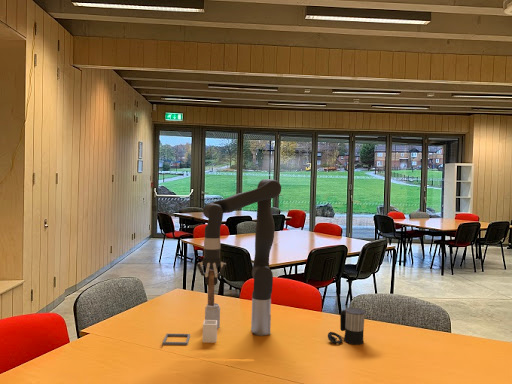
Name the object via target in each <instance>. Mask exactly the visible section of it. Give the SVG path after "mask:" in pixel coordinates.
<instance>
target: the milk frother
mask: <svg viewBox="0 0 512 384" xmlns="http://www.w3.org/2000/svg"><path fill="white" fill-rule="evenodd" d="M365 314H366V311H365V310H364V309H361V308H358V307H348V308H345V309H342V310H341V311H340V314H339V317H340V319H339V321H340V323H339V327H340V328H339V329H340V331H342V332H344V337H343V336H341V335H340V334H338V333H336V332H333V331H330V332H328V333H327V339H328V341H329V342H331V343H333V344H336V345H337V344H341V343H342V342H343V341H344V342H345V343H347V344H348V345H349V344H350V345H362V344H364V342H365V341H364V331H365V316H366V315H365ZM337 339H338V340H337Z"/></svg>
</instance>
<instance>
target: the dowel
mask: <svg viewBox="0 0 512 384" xmlns="http://www.w3.org/2000/svg"><path fill="white" fill-rule="evenodd" d="M214 278H215V273H214V270H212V269H211V270H209V272H208V285H207V304H208V306H214V303H215V287H216V285H214Z"/></svg>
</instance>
